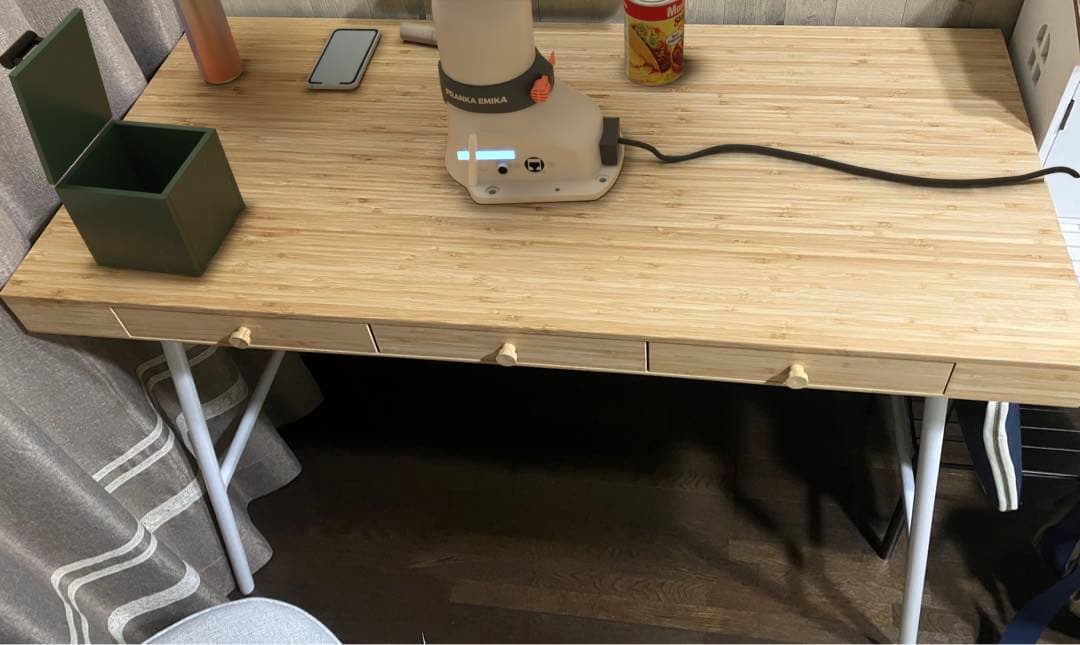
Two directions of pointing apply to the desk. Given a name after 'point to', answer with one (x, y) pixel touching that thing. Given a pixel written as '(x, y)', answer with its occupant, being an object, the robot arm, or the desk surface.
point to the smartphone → (344, 58)
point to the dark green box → (153, 197)
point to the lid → (59, 92)
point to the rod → (418, 33)
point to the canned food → (654, 40)
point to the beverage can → (210, 39)
